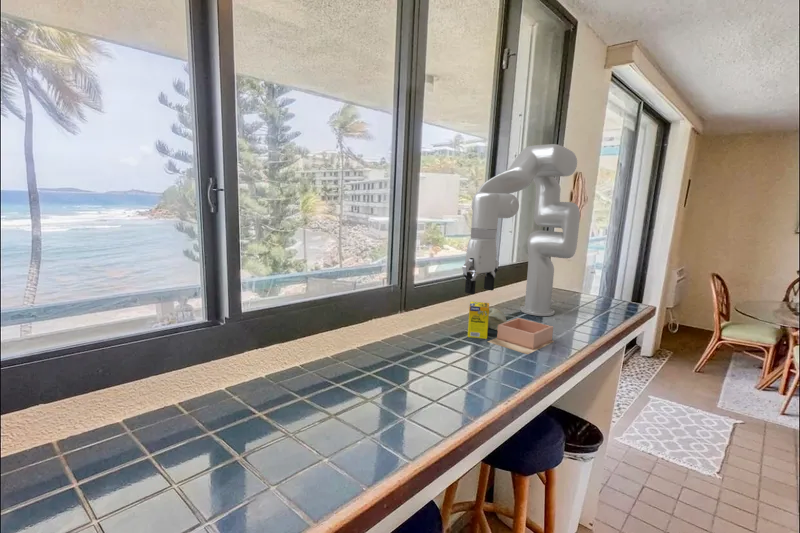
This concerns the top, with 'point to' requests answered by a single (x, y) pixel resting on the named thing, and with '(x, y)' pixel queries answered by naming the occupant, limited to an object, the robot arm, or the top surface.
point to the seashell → (495, 318)
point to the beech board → (515, 346)
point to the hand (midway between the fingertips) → (479, 291)
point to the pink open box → (525, 333)
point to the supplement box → (478, 320)
